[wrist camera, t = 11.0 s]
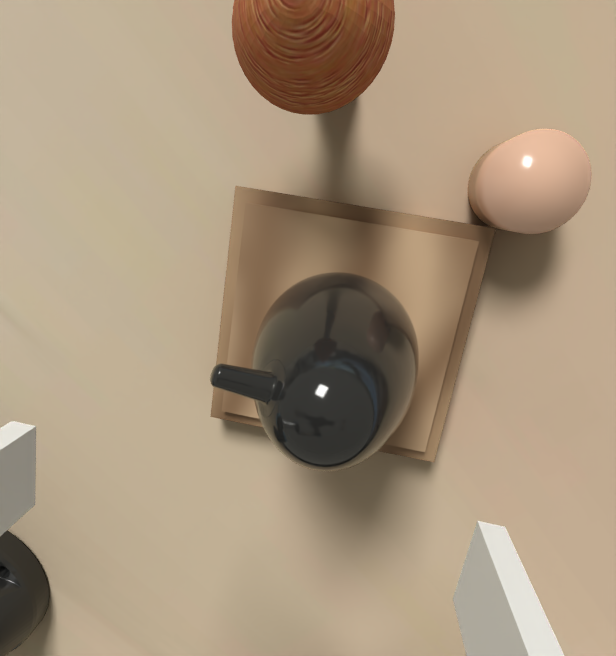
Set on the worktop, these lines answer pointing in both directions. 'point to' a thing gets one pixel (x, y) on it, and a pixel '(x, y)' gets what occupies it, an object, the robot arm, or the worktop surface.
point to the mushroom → (312, 49)
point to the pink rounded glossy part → (530, 182)
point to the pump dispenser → (330, 370)
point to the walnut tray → (365, 260)
